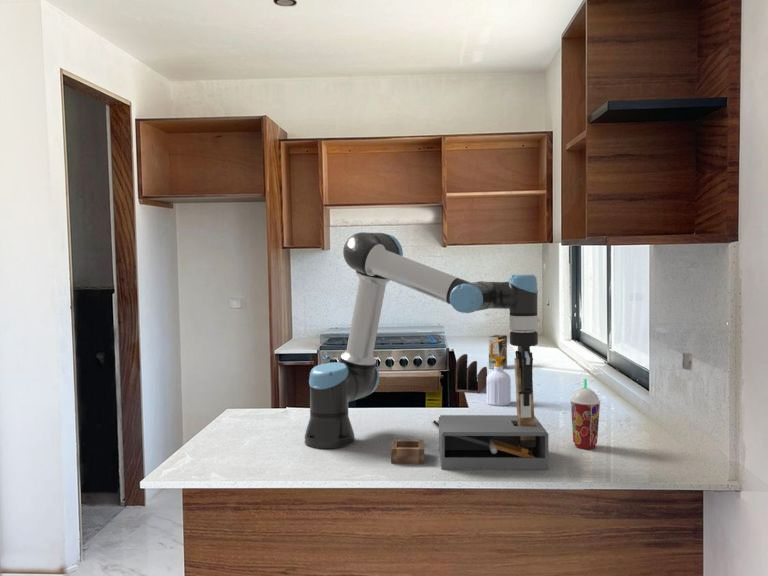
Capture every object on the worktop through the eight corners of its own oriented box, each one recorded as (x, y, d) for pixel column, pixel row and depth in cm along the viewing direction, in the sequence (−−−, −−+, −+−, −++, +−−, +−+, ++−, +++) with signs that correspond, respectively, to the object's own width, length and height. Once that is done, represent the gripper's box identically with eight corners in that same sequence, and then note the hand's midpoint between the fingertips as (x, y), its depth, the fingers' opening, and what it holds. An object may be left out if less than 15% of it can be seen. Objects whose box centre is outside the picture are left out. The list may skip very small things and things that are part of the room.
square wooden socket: (391, 463, 177) (391, 449, 177) (392, 453, 186) (392, 439, 186) (424, 463, 177) (424, 449, 177) (423, 453, 186) (423, 439, 186)
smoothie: (605, 449, 188) (606, 380, 187) (580, 452, 186) (581, 382, 185) (589, 441, 196) (589, 375, 195) (564, 444, 194) (565, 377, 193)
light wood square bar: (521, 447, 178) (516, 360, 177) (518, 443, 182) (514, 358, 181) (535, 446, 178) (531, 359, 177) (533, 442, 182) (528, 357, 181)
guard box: (441, 469, 172) (441, 431, 172) (438, 449, 190) (438, 415, 190) (548, 469, 171) (548, 432, 170) (535, 449, 189) (535, 415, 188)
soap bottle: (508, 406, 242) (508, 341, 241) (484, 405, 245) (484, 340, 244) (512, 401, 251) (512, 338, 249) (488, 400, 254) (488, 337, 252)
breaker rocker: (449, 440, 173) (452, 432, 173) (446, 426, 188) (449, 417, 188) (536, 466, 172) (539, 457, 172) (526, 449, 187) (529, 441, 187)
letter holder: (455, 392, 269) (455, 358, 269) (465, 383, 288) (465, 351, 287) (479, 393, 266) (479, 359, 265) (487, 384, 285) (487, 352, 284)
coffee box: (500, 369, 321) (500, 337, 320) (488, 368, 324) (488, 336, 323) (507, 366, 328) (507, 335, 327) (495, 365, 332) (495, 334, 331)
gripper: (543, 334, 170) (544, 422, 171) (531, 327, 187) (532, 407, 188) (514, 334, 170) (515, 423, 171) (505, 327, 187) (506, 408, 188)
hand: (524, 414), depth 179 cm, fingers closed on light wood square bar, 4 cm apart
